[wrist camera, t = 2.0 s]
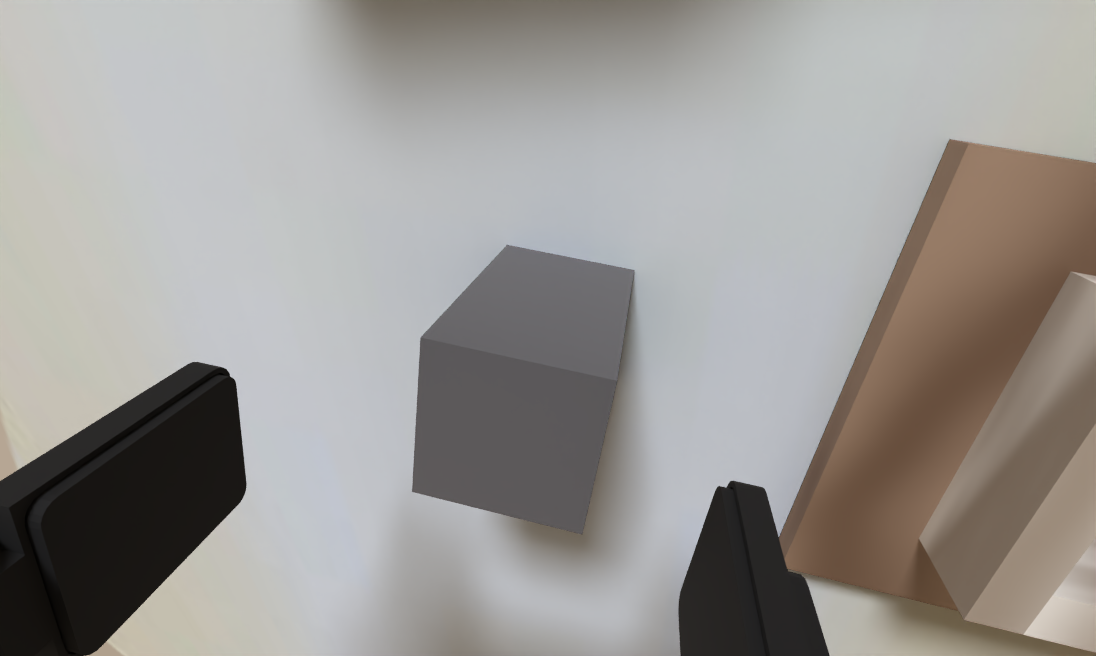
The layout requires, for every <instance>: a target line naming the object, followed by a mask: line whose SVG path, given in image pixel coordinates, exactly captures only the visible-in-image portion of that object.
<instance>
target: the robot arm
mask: <svg viewBox="0 0 1096 656" xmlns="http://www.w3.org/2000/svg"><path fill="white" fill-rule="evenodd" d="M245 491H246V475H245V466H244V456H243V446H242V436H241V427H240V417H239V407H238V398H237V388H236V382H235V380H234V379H233V378H231V377H230V374H229V372H228V371H227V369H225V368H222V367H218V366H213V365H209V364H204V363H200V362H192V363H190V364H188V365H186V366H184V367H183V368H181V369H180V370H178V371H176V372H175V373H173V374H172V375H170V376H168V377H167V378H165V379H164V380H162V381H160V382H159V383H157V384H156V385H154V386H152V387H151V388H149V389H147V390H146V391H144V392H143V393H141V394H139V395H138V396H136V397H135V398H133V399H131V400H130V401H128V402H127V403H125V404H123V405H122V406H120V407H119V408H117V409H115V410H114V411H112V412H111V413H109V414H107V415H106V416H104V417H102V418H101V419H99V420H98V421H96V422H94V423H93V424H91V425H90V426H88V427H86V428H85V429H83V430H82V431H80V432H78V433H77V434H75V435H74V436H72V437H70V438H69V439H67V440H66V441H64V442H62V443H61V444H59V445H58V446H56V447H54V448H53V449H51V450H49V451H48V452H46V453H45V454H43V455H41V456H40V457H38V458H37V459H35V460H33V461H32V462H30V463H29V464H27V465H25V466H24V467H22V468H21V469H19V470H17V471H16V472H14V473H13V474H11V475H9V476H8V477H6V478H4V479H3V480H1V481H0V656H84V655H85V656H86V655H90V654H92V653H93V652H95V651H97V650H98V649H99V648H100V647H101V646H102V645H103V644H104V643H105V642H106V641H107V640H108V639H109V638H110V637H111V636H112V635H113V634H114V633H115V632H116V631H117V630H118V629H119V628H120V626H121V625H122V624H123V623H124V622H125V621H126V620H127V619H128V618H129V617H130V616H131V615H132V614H133V613H134V612H135V611H136V610H137V609H138V608H139V607H140V606H141V605H142V604H143V603H144V602H145V601H146V600H147V598H148V597H149V596H150V595H151V594H152V593H153V592H154V591H155V590H156V589H157V588H158V587H159V586H160V585H161V584H162V583H163V582H164V581H165V580H166V579H167V578H168V577H169V576H170V575H171V574H172V573H173V572H174V570H175V569H176V568H177V567H178V566H179V565H180V564H181V563H182V562H183V561H184V560H185V559H186V558H187V557H188V556H189V555H190V554H191V553H192V552H193V551H194V550H195V549H196V548H197V547H198V546H199V545H200V544H201V543H202V541H203V540H204V539H205V538H206V537H207V536H208V535H209V534H210V533H211V532H212V531H213V530H214V529H215V528H216V527H217V526H218V525H219V524H220V523H221V522H222V521H223V520H224V519H225V518H226V517H227V516H228V515H229V513H230V512H231V511H232V510H233V509H234V508H235V507H236V506H237V505H238V504H239V503H240V502H241V500H242V498H243V496H244V494H245ZM679 632H680V652H681V656H829V652H828V649H827V646H826V643H825V639H824V636H823V633H822V629H821V626H820V623H819V620H818V616H817V613H816V610H815V607H814V603H813V600H812V597H811V594H810V590H809V587H808V585H807V582H806V580H805V578H804V577H803V576H802V575H801V574H797V573H793V572H788V570H787V567H786V563H785V559H784V556H783V552H782V548H781V545H780V541H779V537H778V534H777V530H776V526H775V523H774V519H773V516H772V512H771V508H770V505H769V501H768V497H767V494H766V491H765V489H764V488H763V487H759V486H754V485H750V484H745V483H741V482H736V481H730V483H729V484H728V486H727V488H725V487H721V486H718V487H717V489H716V491H715V493H714V496H713V499H712V502H711V505H710V508H709V511H708V514H707V516H706V519H705V522H704V525H703V528H702V531H701V534H700V537H699V540H698V542H697V545H696V548H695V551H694V554H693V557H692V560H691V563H690V566H689V569H688V571H687V574H686V577H685V580H684V583H683V586H682V589H681V592H680V598H679Z"/></svg>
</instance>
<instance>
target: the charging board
mask: <svg viewBox="0 0 1096 656" xmlns="http://www.w3.org/2000/svg"><path fill="white" fill-rule="evenodd" d="M779 541H780V545H781V548H782V552H783V556H784V559H785V563H786V567H787V569H791V570H795V571H799V572H803V573H807V574H811V575H815V576H819V577H823V578H827V579H831V580H835V581H839V582H843V583H848V584H852V585H856V586H860V587H864V588H868V589H872V590H876V591H880V592H884V593H888V594H892V595H896V596H900V597H904V598H908V599H912V600H916V601H920V602H924V603H928V604H932V605H937V606H941V607H945V608H949V609H953V610H957V611H959V612H960V614H961V616H962V618H963V619H964V620H966V621H970V622H974V623H978V624H982V625H986V626H990V627H994V628H998V629H1002V630H1006V631H1010V632H1014V633H1018V634H1023V635H1027V636H1031V637H1035V638H1039V639H1043V640H1047V641H1051V642H1055V643H1059V644H1063V645H1067V646H1071V647H1075V648H1079V649H1083V650H1087V651H1091V652H1095V653H1096V163H1092V162H1086V161H1079V160H1073V159H1067V158H1061V157H1055V156H1049V155H1043V154H1037V153H1030V152H1024V151H1018V150H1012V149H1006V148H1000V147H994V146H988V145H981V144H975V143H969V142H963V141H957V140H951V139H950V140H949V142H948V145H947V147H946V149H945V152H944V154H943V156H942V159H941V161H940V163H939V166H938V168H937V170H936V173H935V175H934V177H933V180H932V182H931V184H930V187H929V189H928V191H927V194H926V196H925V198H924V201H923V203H922V205H921V208H920V210H919V212H918V215H917V217H916V219H915V222H914V224H913V226H912V229H911V231H910V233H909V236H908V238H907V240H906V243H905V245H904V247H903V250H902V252H901V254H900V257H899V259H898V261H897V264H896V266H895V268H894V271H893V273H892V275H891V278H890V280H889V282H888V285H887V287H886V289H885V292H884V294H883V296H882V299H881V301H880V303H879V306H878V308H877V310H876V313H875V315H874V317H873V320H872V322H871V324H870V327H869V329H868V331H867V334H866V336H865V338H864V341H863V343H862V345H861V348H860V350H859V352H858V355H857V357H856V359H855V362H854V364H853V366H852V369H851V371H850V373H849V376H848V378H847V380H846V383H845V385H844V387H843V390H842V392H841V394H840V397H839V399H838V401H837V404H836V406H835V408H834V411H833V413H832V415H831V418H830V420H829V422H828V425H827V427H826V429H825V432H824V434H823V436H822V439H821V441H820V443H819V446H818V448H817V451H816V453H815V455H814V458H813V460H812V462H811V465H810V467H809V469H808V472H807V474H806V476H805V479H804V481H803V483H802V486H801V488H800V490H799V493H798V495H797V497H796V500H795V502H794V504H793V507H792V509H791V511H790V514H789V516H788V518H787V521H786V523H785V525H784V528H783V530H782V532H781V535H780V537H779Z"/></svg>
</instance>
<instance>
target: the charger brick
mask: <svg viewBox="0 0 1096 656" xmlns="http://www.w3.org/2000/svg"><path fill="white" fill-rule="evenodd" d="M633 275H634V270H631V269H626V268H621V267H616V266H611V265H606V264H601V263H596V262H590V261H585V260H580V259H575V258H570V257H565V256H560V255H555V254H550V253H545V252H540V251H535V250H530V249H525V248H520V247H515V246H510V245H507V246H506V247H505V248H504V249H503V250H502V251H501V252H500V253H499V254H498V255H497V256H496V257H495V259H494V260H493V261H492V262H491V263H490V264H489V265H488V266H487V267H486V268H485V269H484V270H483V271H482V272H481V274H480V275H479V276H478V277H477V278H476V279H475V280H474V281H473V282H472V283H471V284H470V285H469V286H468V287H467V289H466V290H465V291H464V292H463V293H462V294H461V295H460V296H459V297H458V298H457V299H456V300H455V301H454V302H453V304H452V305H451V306H450V307H449V308H448V309H447V310H446V311H445V312H444V313H443V314H442V315H441V316H440V317H439V318H438V320H437V321H436V322H435V323H434V324H433V325H432V326H431V327H430V328H429V329H428V330H427V331H426V332H425V333H424V335H423V336H422V337H421V340H420V359H419V377H418V395H417V413H416V432H415V450H414V468H413V487H412V492H415V493H419V494H423V495H427V496H431V497H435V498H439V499H443V500H447V501H451V502H455V503H459V504H463V505H467V506H471V507H475V508H479V509H483V510H487V511H491V512H495V513H499V514H503V515H507V516H511V517H515V518H519V519H523V520H527V521H531V522H535V523H539V524H543V525H547V526H551V527H555V528H559V529H563V530H567V531H571V532H575V533H579V534H582V533H583V529H584V525H585V520H586V516H587V511H588V507H589V503H590V498H591V494H592V489H593V485H594V481H595V476H596V472H597V468H598V463H599V459H600V454H601V450H602V446H603V441H604V437H605V432H606V428H607V424H608V419H609V415H610V410H611V406H612V402H613V397H614V393H615V388H616V384H617V379H618V373H619V366H620V360H621V353H622V347H623V340H624V334H625V327H626V321H627V314H628V308H629V301H630V295H631V288H632V282H633Z"/></svg>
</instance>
